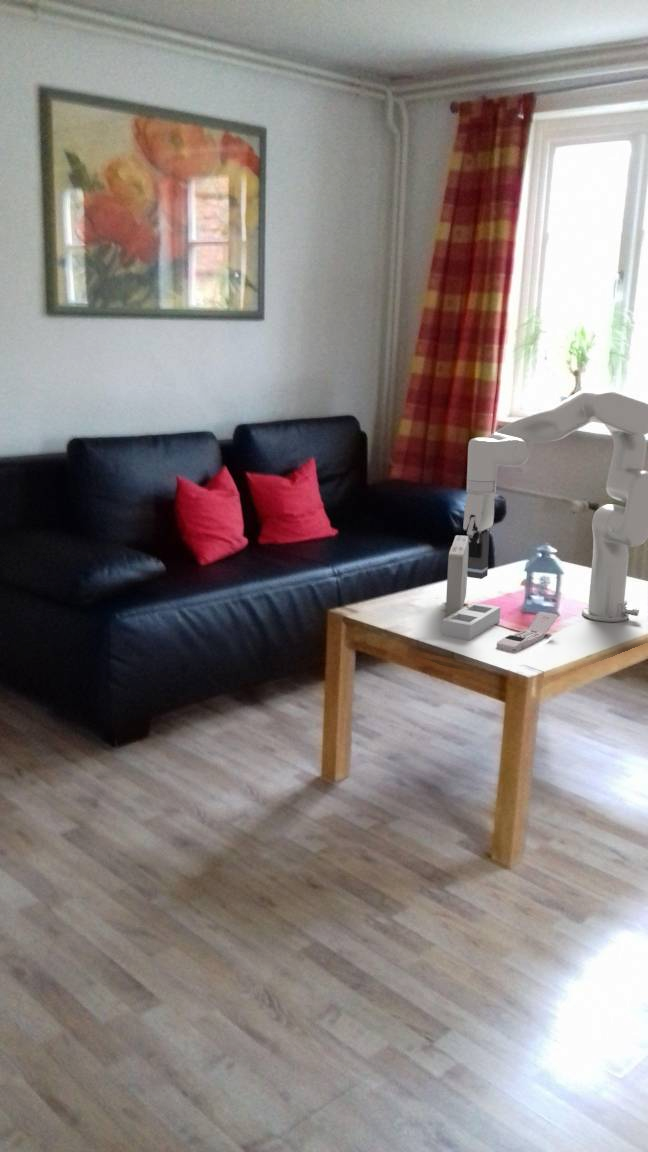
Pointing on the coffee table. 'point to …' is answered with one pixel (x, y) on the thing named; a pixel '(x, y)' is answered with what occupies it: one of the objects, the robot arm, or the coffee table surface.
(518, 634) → the mobile phone
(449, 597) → the network device
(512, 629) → the coffee table surface
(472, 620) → the socket block
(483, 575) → the plug
